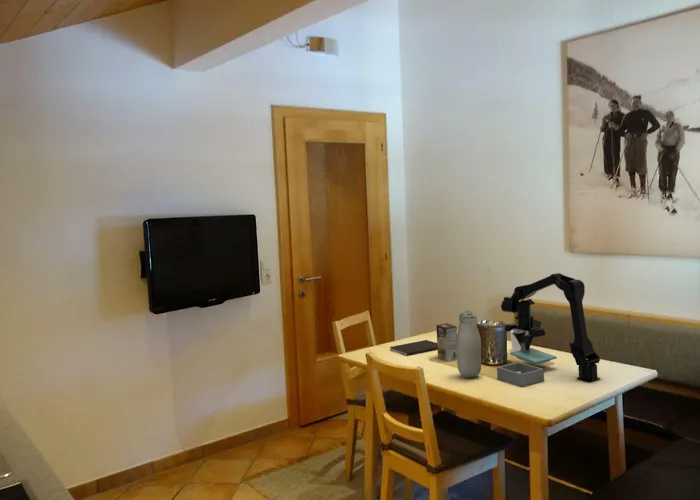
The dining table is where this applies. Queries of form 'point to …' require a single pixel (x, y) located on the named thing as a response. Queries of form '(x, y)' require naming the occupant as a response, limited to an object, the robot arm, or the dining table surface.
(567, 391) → the dining table surface
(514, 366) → the parts tub
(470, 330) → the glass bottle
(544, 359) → the lid
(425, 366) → the dining table surface
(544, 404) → the dining table surface
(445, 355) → the coffee box
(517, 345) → the white cup
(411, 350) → the hardcover book
